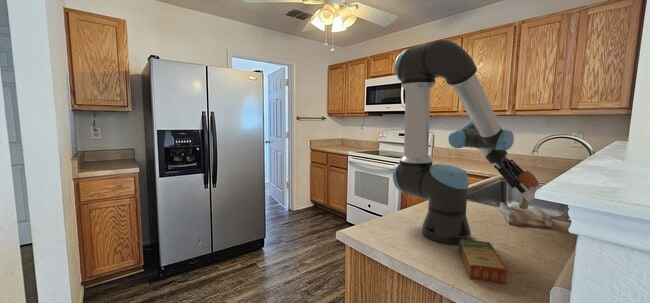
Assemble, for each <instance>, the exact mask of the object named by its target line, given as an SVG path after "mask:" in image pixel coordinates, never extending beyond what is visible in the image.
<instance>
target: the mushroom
mask: <svg viewBox="0 0 650 303" xmlns="http://www.w3.org/2000/svg"><path fill="white" fill-rule="evenodd" d="M516 178H517V179H518V181H519V182H520V184H521V183H522V184H523V185H524V186H525V187H526V188H527V189H528V190H530V186H531V187H538V186H540V183H539V181H538V179H537V178H536V176H535V175H534V174H533V173H532V172H530V171H528V170H526V171H525V170H524V172H523V173H521V174H520V175H519V176H518V177H516ZM518 207H519V208H520V209H521V210H528V208H529V201H527V200H526V199H525V198H524V197H523V196H522V195H521V197H520V200H519V203H518Z"/></svg>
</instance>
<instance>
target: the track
mask: <svg viewBox="0 0 650 303" xmlns="http://www.w3.org/2000/svg"><path fill="white" fill-rule="evenodd" d="M498 211H499V213H500V215H501V216H502V217H503V218H504V220H505V221H506V223H507V224H508V225H510V226H519V227H527V228H529V227H530V228H535V229H536V228H537V229H544V230H546V229H547V230H552V225H553V218H552V217H551V216H550V215H548V213H546V212H545V211H544V210H543V209H542V208H540V207H539V206H538V205H536V204H535V205H533V212H531V211H522V210H521V211H520V210H510V209H509V208H508V207H507V206H506V204H505V203H504V202H502V201H501V202H499V210H498Z"/></svg>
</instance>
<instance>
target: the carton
mask: <svg viewBox="0 0 650 303" xmlns="http://www.w3.org/2000/svg"><path fill="white" fill-rule="evenodd" d="M458 252H459V255H460V257H461V261H462V262H463V266H464V268H465V271H466V274H467V276H468V279H469V280H475V281H481V282H482V281H483V282H489V283H495V284H499V285H500V284H501V285H507V281H508V268H507V266H506V264H504V262H503V261H502V259H501V258H500V256H499V254H498V253H497V252H496V250H495V248H494V247H493V245H492V244H491V242H490V241H483V240H482V241H480V240H463V239H460V243H459V244H458Z"/></svg>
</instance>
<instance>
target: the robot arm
mask: <svg viewBox="0 0 650 303" xmlns="http://www.w3.org/2000/svg"><path fill="white" fill-rule="evenodd" d="M477 72H478V67H477V65H476V64H475V61H474V59H473V58H472V57H471V55H470V54H469V53H468V52H467V50H465V49H464V48H463V47H462V46H460V45H459V44H457V43H455V42H454V41H451V40H448V39H437V40H434V41H431V42H427V43H423V44H419V45H415V46H411V47H409V48H406V49H404V50H403V51H401V52H400V53H399V55H397V57H396V59H395V63H394V74H395V76H396V78H397V80H398V81H400V84H401V87H402V88H403V89H404V92H405V93H404V95H405V96H404V98H405V99H404V134H403V135H404V136H403V138H404V139H403V140H404V141H403V142H404V143H403V144H404V145H403V155H402V157H401V158H400V159H399V163H398V164H396V165H395V168H394V169H393V171H392V182H393V184H394V186H395V188H396V189H397V190H398V192H401V193H403V194H405V195H408V196H412V197H416V198H419V199H423V200H427V201H428V206H427V207H428V210H427V213H426V216H425V218H424V220H423V223H422V226H421V234H422V235H423V236H424V237H425V238H427V239H429V240H431V241H433V242H436V243H441V244H447V245H459V243H460V239H463V240H471V238H472V237H471V236H472V232H471V228H470V225H469V221H468V218H467V202H468V189H469V176H468V173H467V171H466V170H465V169H463V168H461V167H458V166H455V165H449V164H444V163H434V164H433V160H432V159H431V157H430V156H429V146H430V145H429V141H430V114H431V113H430V111H431V110H430V108H431V89H432V88H433V87H434V86H435V85H436V78H443V79H444V80H445V82H446V83H447V85H449V86H452V87H453V89H454V92H455V93H456V95H457V96H458V99H459V100H460V102H461V104H462V105H463V106H462V107H463V108H464V110H465V111H466V113H467V115H468V117H469V119H470V121H468V122H466V124H463V126H462V128H458V129H455V130H452V131H451V132H450V133H449V134H448V137H447V139H448V143H449V145H450V146H451V147H452V148H454V149H462V148H471V149H472V148H473V149H477V150H478V151H479V154H481V155H483V157H485V159H486V160H487V162H488V163H490V164H491V165H493V164H494V165H493V167H494V168H495V169H496V170H497V171H498V172H499V174H500V175H501V176H502V178H503V179H504V180H505V182H507V184H508V185H509V186H510V187H511V189H514V188H515V189H516V190H517V192H519V193H520V195H521V197H522V196H523V197H524V198H525V199H526V200H527V201H528V202H531V201H532V200H534V199H535V198H534V197H535V196H534V193H535V191H536V190H537V189H539V187H538V186H536V187H531V186H530V190H528V189H527V188H526V187H525V186H524V185H523V184H522V183H521V184H520V182H519V181H518V179H517V177H518V176H519V175H520V174H521V173H523V172H525V170H524V169H522V167H520V166H519V165H518V164H517V163H516V161H514V160H513V159H512V158H511V159H509V158H507V155H508V150H510V149H511V148H512V147H513V144H514V140H515V136H514V133H513V131H511V130H509V129H505V128H504V129H503V128H502V127H501V124H500V122H499V120H498V118H497V116H496V114H495V112H494V110H493V108H492V105H491V103H490V102H489V99H488V98H487V95H486V93H485V90H484V89H483V86H482V85H481V82H480V80H479V78H478V76H477Z"/></svg>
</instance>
